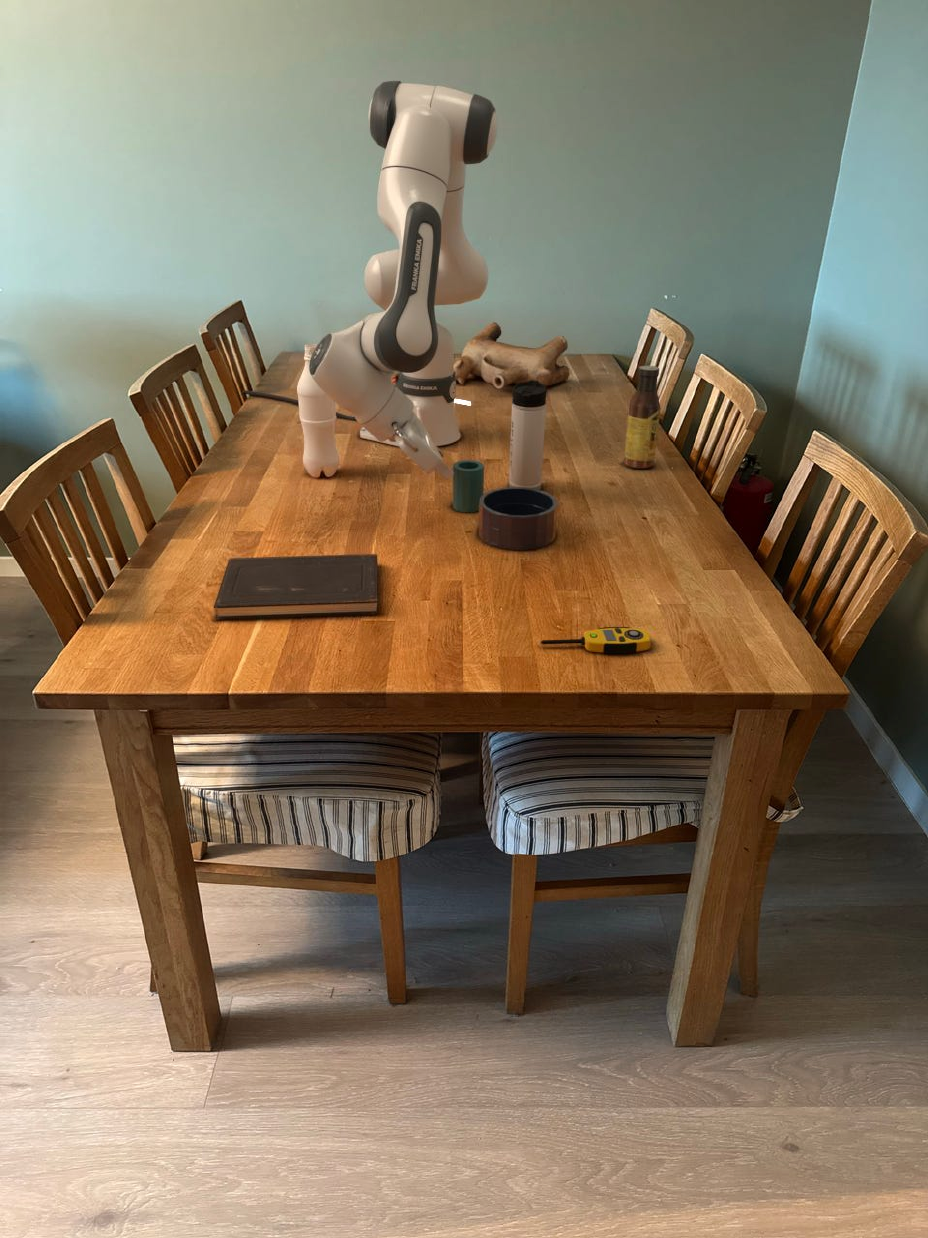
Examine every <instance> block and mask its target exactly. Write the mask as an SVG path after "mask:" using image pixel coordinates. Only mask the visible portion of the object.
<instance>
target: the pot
mask: <svg viewBox="0 0 928 1238" xmlns="http://www.w3.org/2000/svg"><path fill="white" fill-rule="evenodd" d="M558 504H559V503H558V500H557V498H556V497H554V495H552V494H551V493H549V492H547V491H544V490H541V489H540V490H537V489H533V488H526V487H509V486H507V487H499V488H496V489H491V490H489V491H487V492H483V495H482V496H481V497H480V499H479V511H478V536H479V538H480V539H481V540H482V541H483V542H484V543H486V544H488V545H490V546H492V547H494V548H497V549H498V548H499V549H503V550H509V551H530V550H531V551H532V550H536V549H541V548H544V547H545V546H549V545H550V544H552V542H554V540H555V538H556V534H557V521H558V520H557V519H558Z"/></svg>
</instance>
